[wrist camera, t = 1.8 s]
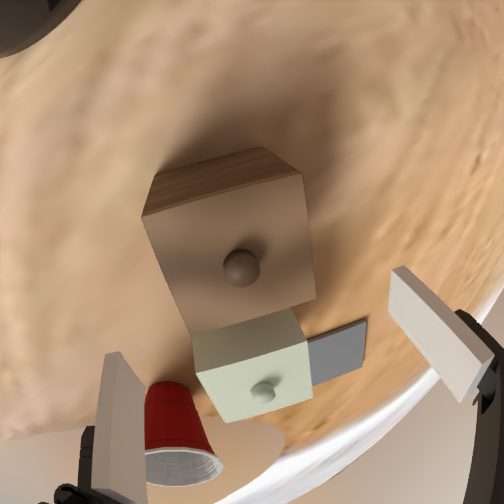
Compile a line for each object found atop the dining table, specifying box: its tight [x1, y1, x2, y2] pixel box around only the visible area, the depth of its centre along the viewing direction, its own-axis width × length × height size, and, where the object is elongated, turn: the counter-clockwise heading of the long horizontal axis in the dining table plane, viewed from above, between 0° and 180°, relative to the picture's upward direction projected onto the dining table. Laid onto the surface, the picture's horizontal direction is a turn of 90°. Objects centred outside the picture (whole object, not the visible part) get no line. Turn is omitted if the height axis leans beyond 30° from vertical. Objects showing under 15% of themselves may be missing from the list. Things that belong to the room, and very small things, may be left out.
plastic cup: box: [144, 382, 223, 487], centre depth 31 cm, size 11×11×12 cm
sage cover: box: [192, 307, 313, 423], centre depth 28 cm, size 9×9×10 cm
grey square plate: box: [307, 319, 367, 386], centre depth 39 cm, size 10×10×1 cm
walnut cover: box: [141, 147, 316, 336], centre depth 22 cm, size 9×9×10 cm
